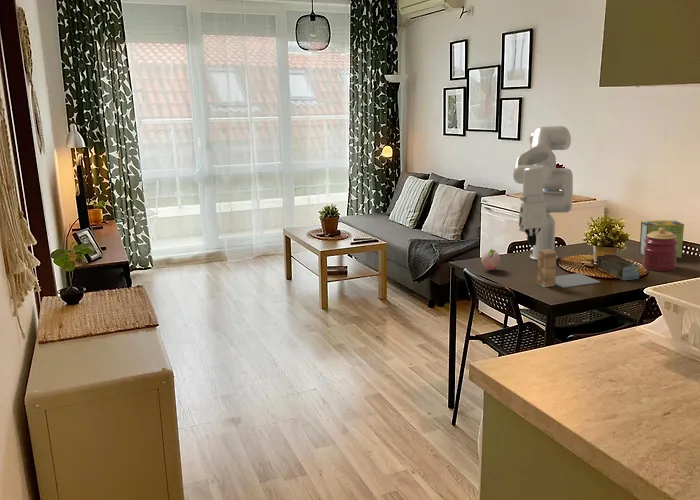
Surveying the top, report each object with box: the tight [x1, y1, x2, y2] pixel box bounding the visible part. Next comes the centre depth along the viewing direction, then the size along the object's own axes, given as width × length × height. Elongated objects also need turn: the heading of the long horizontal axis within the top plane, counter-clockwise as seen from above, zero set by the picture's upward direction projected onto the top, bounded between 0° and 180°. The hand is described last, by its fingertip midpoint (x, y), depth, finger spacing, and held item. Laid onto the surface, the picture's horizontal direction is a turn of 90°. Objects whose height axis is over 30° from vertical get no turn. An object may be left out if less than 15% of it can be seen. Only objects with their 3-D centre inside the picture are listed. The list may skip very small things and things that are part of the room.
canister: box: [642, 228, 678, 272], centre depth 252 cm, size 13×13×18 cm
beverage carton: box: [596, 254, 640, 281], centre depth 249 cm, size 8×19×7 cm, turn 9°
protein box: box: [638, 219, 685, 259], centre depth 272 cm, size 10×15×16 cm
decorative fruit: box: [480, 248, 501, 271], centre depth 263 cm, size 9×8×10 cm
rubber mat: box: [555, 272, 601, 289], centre depth 243 cm, size 14×18×1 cm
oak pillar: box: [537, 249, 557, 288], centre depth 238 cm, size 5×5×14 cm
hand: (531, 244), depth 234 cm, fingers closed
